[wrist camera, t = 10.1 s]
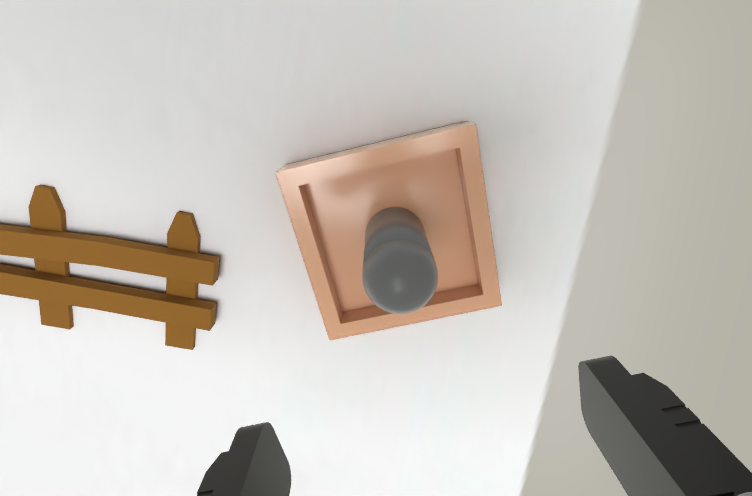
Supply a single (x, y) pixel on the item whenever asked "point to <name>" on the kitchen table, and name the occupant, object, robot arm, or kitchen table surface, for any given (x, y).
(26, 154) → the kitchen table surface
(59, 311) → the decorative fence
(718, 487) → the robot arm
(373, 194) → the dish
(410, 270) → the plug
